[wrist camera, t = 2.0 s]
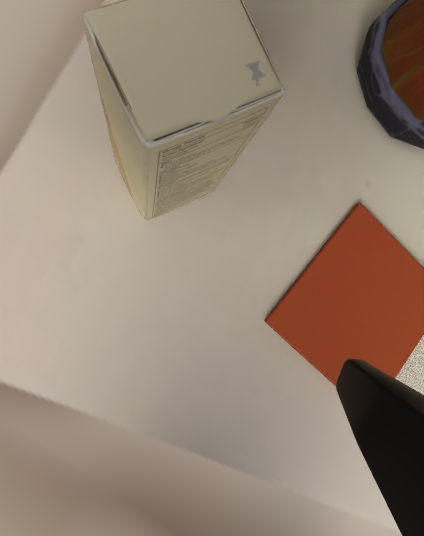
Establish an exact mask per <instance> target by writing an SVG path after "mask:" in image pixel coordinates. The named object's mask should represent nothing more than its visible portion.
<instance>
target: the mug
mask: <svg viewBox="0 0 424 536" xmlns="http://www.w3.org/2000/svg"><path fill="white" fill-rule="evenodd" d="M357 73H358V76H359V80H360V83H361V86H362V90H363V93H364V97H365V100H366V103H367V106H368V108H369V109H370V110H371V112H372V113H373V114H374V116H375V117H376V118H377V119H378V121H379V122H380V123H381V125H382V126H383V127H384V129H385V130H386V131H387V132H388V134H389V135H390V136H391V137H393V138H395V139H398V140H401V141H403V142H406V143H409V144H412V145H414V146H417V147H420V148H423V149H424V0H396V1H395V2H394V3H393V4H392V5H391V6H390V7H389V8H388V9H387V10H386V11H385V12H383V13H382V14H381V15H380V16H379V17H378V18H377V19H376V20H375V21H374V22H373V24H372V25H371V26H370V28H369V31H368V33H367V36H366V40H365V43H364V47H363V50H362V54H361V57H360V61H359V65H358V68H357Z"/></svg>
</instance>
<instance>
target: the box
mask: <svg viewBox="0 0 424 536" xmlns="http://www.w3.org/2000/svg"><path fill="white" fill-rule="evenodd" d="M83 23H84V26H85V31H86V36H87V41H88V45H89V49H90V53H91V58H92V62H93V66H94V71H95V75H96V79H97V83H98V87H99V91H100V96H101V101H102V105H103V109H104V113H105V117H106V122H107V126H108V130H109V135H110V139H111V144H112V148H113V153H114V157H115V161H116V163H117V165H118V168H119V170H120V172H121V174H122V177H123V179H124V181H125V183H126V185H127V187H128V189H129V192H130V194H131V196H132V198H133V200H134V202H135V204H136V206H137V208H138V209H139V211H140V213H141V215H142V217H143V219H145V220H149V219H152V218H154V217H157V216H159V215H162V214H164V213H166V212H169V211H171V210H173V209H176V208H178V207H180V206H182V205H184V204H186V203H189V202H191V201H193V200H195V199H197V198H199V197H201V196H203V195H206V194H208V193H210V192H212V191H213V190H214V189H215V188H216V186H217V185H218V184H219V182H220V181H221V179H222V178H223V177H224V175H225V174H226V173H227V171H228V170H229V169H230V167H231V166H232V164H233V163H234V162H235V160H236V159H237V158H238V156H239V155H240V154H241V152H242V151H243V149H244V148H245V147H246V145H247V144H248V143H249V141H250V140H251V138H252V137H253V136H254V134H255V133H256V131H257V130H258V129H259V127H260V126H261V125H262V123H263V122H264V121H265V119H266V118H267V116H268V115H269V114H270V112H271V111H272V110H273V108H274V107H275V105H276V104H277V103H278V101H279V100H280V99H281V97H282V96H283V94H284V92H285V89H284V86H283V84H282V83H281V81H280V78H279V76H278V74H277V72H276V70H275V67H274V65H273V63H272V61H271V58H270V56H269V54H268V52H267V50H266V48H265V46H264V44H263V41H262V39H261V37H260V35H259V33H258V31H257V29H256V26H255V24H254V22H253V21H252V19H251V16H250V14H249V12H248V10H247V8H246V6H245V4H244V2H243V0H121V1H118V2H115V3H111V4H108V5H105V6H102V7H98V8H94V9H91V10H88V11H86V12H84V13H83Z"/></svg>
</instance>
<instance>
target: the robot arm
mask: <svg viewBox="0 0 424 536" xmlns="http://www.w3.org/2000/svg"><path fill="white" fill-rule="evenodd" d="M336 389H337V392H338V395H339V398H340V400H341V403H342V405H343V408H344V411H345V413H346V416H347V418H348V421H349V423H350V426H351V429H352V431H353V434H354V436H355V439H356V441H357V444H358V446H359V448H360V450H361V452H362V454H363V456H364V458H365V460H366V462H367V464H368V467H369V469H370V471H371V473H372V475H373V477H374V479H375V481H376V483H377V485H378V487H379V489H380V491H381V493H382V495H383V497H384V499H385V501H386V503H387V505H388V507H389V509H390V511H391V513H392V515H393V517H394V519H395V522H396V524H397V526H398V528H399V530H400V532H401V534H402V536H424V395H423V394H421V393H419V392H417V391H416V390H414V389H412V388H410V387H409V386H407V385H405V384H403V383H402V382H400V381H398V380H396V379H395V378H393V377H391V376H390V375H388V374H386V373H384V372H383V371H381V370H379V369H377V368H376V367H374V366H372V365H370V364H369V363H367V362H365V361H364V360H361V359H347V360H346V361H345V362H344V364H343V366H342V369H341V371H340V373H339V376H338V378H337V381H336Z"/></svg>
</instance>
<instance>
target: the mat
mask: <svg viewBox="0 0 424 536" xmlns="http://www.w3.org/2000/svg"><path fill="white" fill-rule="evenodd" d="M265 322H266V323H267V324H268V325H269V326H270V327H271V328H273V329H274V330H275V331H276V332H277V333H278V334H279V335H280V336H281V337H282V338H284V339H285V340H286V341H287V342H288V343H289V344H290V345H291V346H292V347H293V348H295V349H296V350H297V351H298V352H299V353H300V354H301V355H302V356H303V357H304V358H305V359H307V360H308V361H309V362H310V363H311V364H312V365H313V366H314V367H315V368H316V369H318V370H319V371H320V372H321V373H322V374H323V375H324V376H325V377H326V378H327V379H328V380H330V381H331V382H332V383H333V384H334V385H335V386H336V381H337V378H338V376H339V373H340V371H341V369H342V366H343V364H344V362H345V361H346V360H347V359H361V360H364V361H365V362H367V363H369V364H370V365H372V366H374V367H376V368H377V369H379V370H381V371H383V372H384V373H386V374H388V375H390V376H391V377H393V378H395V377H396V376H397V374H398V373H399V371H400V370H401V368H402V367H403V365H404V364H405V362H406V361H407V359H408V357H409V356H410V354H411V353H412V351H413V350H414V348H415V347H416V345H417V344H418V342H419V341H420V339H421V338H422V336H423V335H424V268H423V267H422V266H421V265H420V264H419V263H418V262H417V261H416V260H415V259H414V258H413V257H412V256H411V255H410V254H409V253H408V251H407V250H406V249H405V248H404V247H403V246H402V245H401V244H400V243H399V242H398V241H397V240H396V239H395V238H394V237H393V236H392V235H391V234H390V233H389V232H388V231H387V230H386V229H385V228H384V227H383V226H382V225H381V224H380V223H379V222H378V221H377V220H376V219H375V217H374V216H373V215H372V214H371V213H370V212H369V211H368V210H367V209H366V208H365V207H364V206H363V205H362V204H361V203H359V204H357V205H356V206H355V207H354V209H353V210H352V211H351V212H350V214H349V215H348V216H347V217H346V219H345V220H344V221H343V222H342V224H341V225H340V226H339V227H338V229H337V230H336V231H335V233H334V234H333V235H332V236H331V238H330V239H329V240H328V241H327V243H326V244H325V245H324V246H323V248H322V249H321V250H320V252H319V253H318V254H317V255H316V257H315V258H314V259H313V260H312V262H311V263H310V264H309V265H308V267H307V268H306V269H305V270H304V272H303V273H302V274H301V276H300V277H299V278H298V279H297V281H296V282H295V283H294V284H293V286H292V287H291V288H290V289H289V291H288V292H287V293H286V294H285V296H284V297H283V298H282V300H281V301H280V302H279V303H278V305H277V306H276V307H275V308H274V310H273V311H272V312H271V313H270V315H269V316H268V317H267V319H266V320H265Z"/></svg>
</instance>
